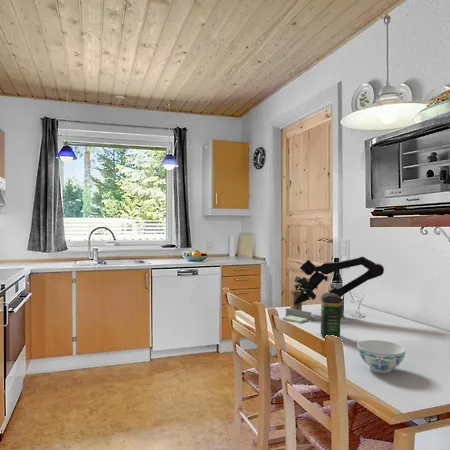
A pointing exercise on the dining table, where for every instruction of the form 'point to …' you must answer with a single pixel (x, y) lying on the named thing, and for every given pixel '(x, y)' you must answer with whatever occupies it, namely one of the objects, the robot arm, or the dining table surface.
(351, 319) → the dining table surface
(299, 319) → the green pad
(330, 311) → the coffee jar
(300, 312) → the grey rail
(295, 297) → the walnut block
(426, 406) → the dining table surface
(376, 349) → the chinaware
